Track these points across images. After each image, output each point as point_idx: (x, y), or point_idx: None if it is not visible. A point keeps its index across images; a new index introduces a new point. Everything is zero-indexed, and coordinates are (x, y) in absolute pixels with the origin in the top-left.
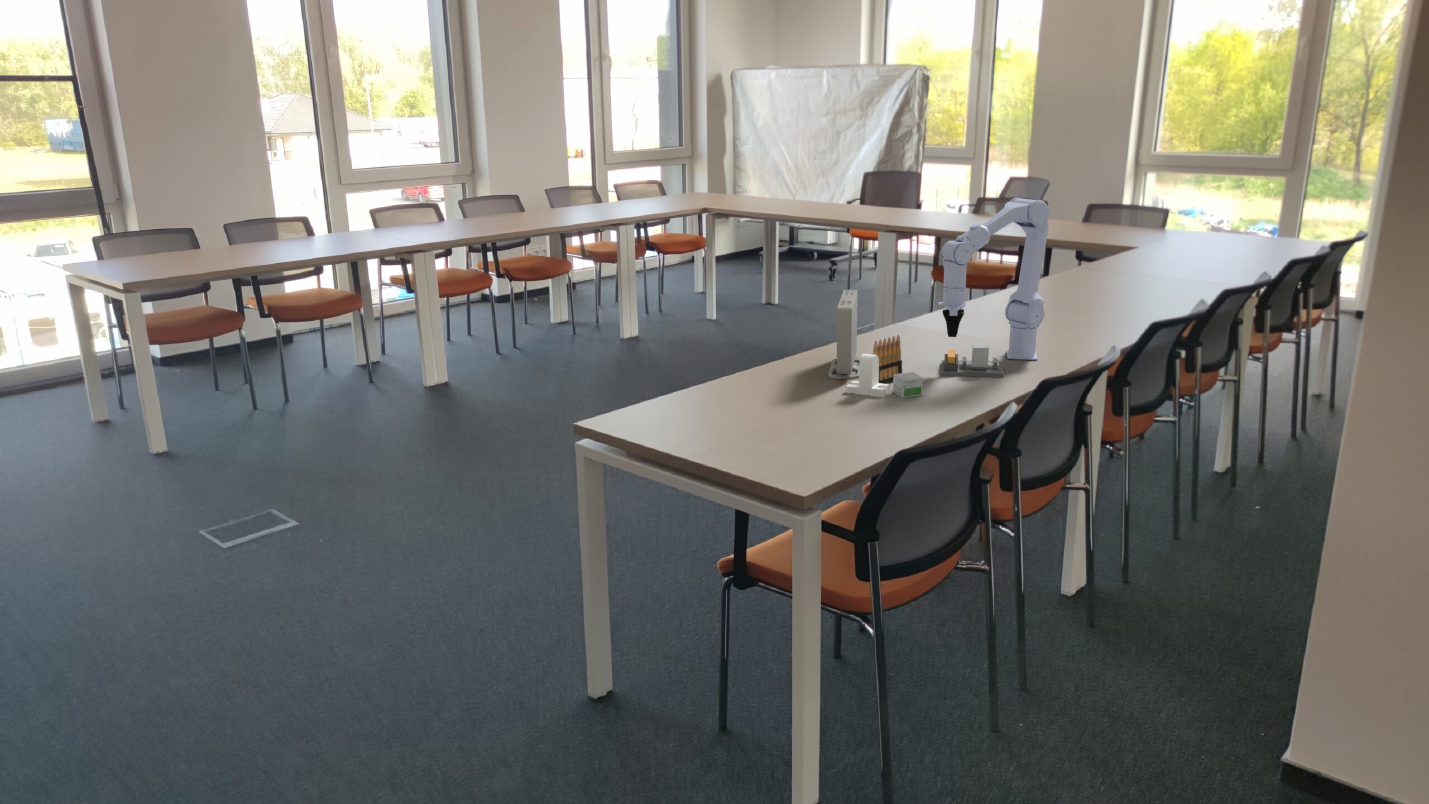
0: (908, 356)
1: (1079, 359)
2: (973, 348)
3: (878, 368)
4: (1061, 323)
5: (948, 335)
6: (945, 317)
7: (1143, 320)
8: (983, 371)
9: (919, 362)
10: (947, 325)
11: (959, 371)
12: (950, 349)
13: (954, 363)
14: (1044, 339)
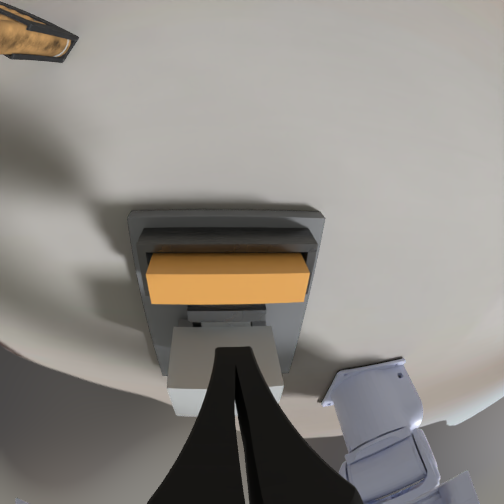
0: (423, 92)
1: (318, 431)
2: (167, 386)
3: None
4: (485, 374)
5: (215, 355)
6: (160, 489)
7: (449, 418)
8: (168, 342)
9: (338, 119)
10: (198, 421)
11: None
12: (301, 284)
13: (146, 283)
14: (441, 381)
